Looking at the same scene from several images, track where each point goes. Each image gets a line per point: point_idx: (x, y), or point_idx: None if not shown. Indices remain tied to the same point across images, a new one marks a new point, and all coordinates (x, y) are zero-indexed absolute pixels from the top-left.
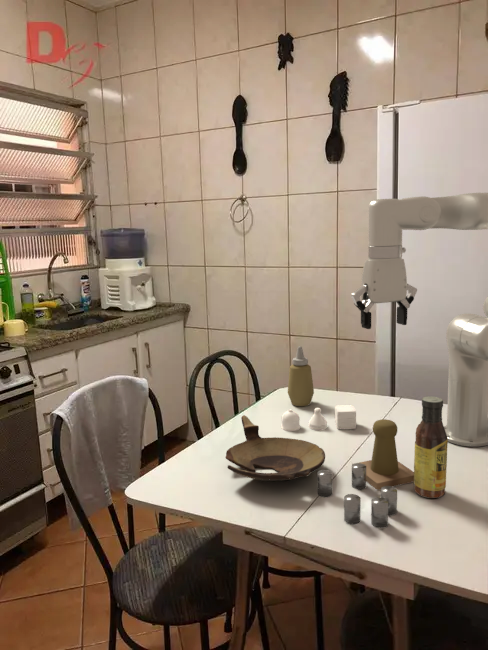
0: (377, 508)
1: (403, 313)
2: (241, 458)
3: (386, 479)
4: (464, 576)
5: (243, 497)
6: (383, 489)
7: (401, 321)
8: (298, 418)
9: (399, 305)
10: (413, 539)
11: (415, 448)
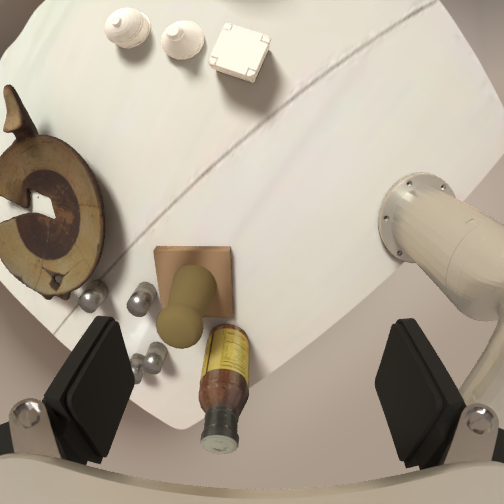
0: None
1: (393, 436)
2: (10, 182)
3: None
4: (176, 423)
5: None
6: (145, 364)
7: (384, 378)
8: (134, 34)
9: (440, 440)
10: (160, 386)
11: (201, 375)
